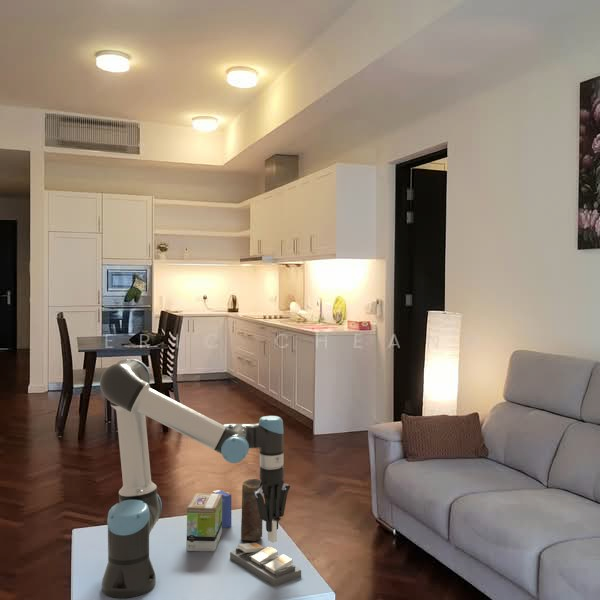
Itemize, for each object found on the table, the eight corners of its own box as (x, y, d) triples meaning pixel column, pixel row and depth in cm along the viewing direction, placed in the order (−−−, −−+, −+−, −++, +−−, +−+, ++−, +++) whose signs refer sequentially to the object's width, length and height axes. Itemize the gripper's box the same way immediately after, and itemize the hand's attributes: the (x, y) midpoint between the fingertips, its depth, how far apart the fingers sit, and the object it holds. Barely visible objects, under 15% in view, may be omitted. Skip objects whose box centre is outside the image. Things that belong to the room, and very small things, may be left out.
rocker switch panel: (274, 586, 185) (274, 575, 185) (230, 558, 203) (230, 548, 203) (301, 576, 191) (301, 565, 191) (255, 549, 210) (255, 540, 210)
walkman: (231, 526, 230) (231, 493, 230) (225, 528, 228) (225, 495, 228) (218, 520, 236) (218, 488, 235) (212, 522, 234) (212, 490, 233)
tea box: (216, 552, 208) (215, 507, 208) (185, 551, 208) (185, 507, 208) (222, 533, 223) (222, 492, 223) (194, 533, 223) (194, 492, 223)
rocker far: (245, 552, 199) (246, 548, 199) (237, 547, 202) (238, 543, 203) (263, 551, 203) (264, 547, 203) (255, 546, 207) (255, 542, 207)
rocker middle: (260, 565, 193) (259, 561, 193) (251, 560, 197) (250, 556, 197) (278, 554, 197) (277, 550, 197) (269, 549, 201) (268, 546, 201)
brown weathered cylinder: (265, 536, 221) (265, 479, 220) (258, 544, 214) (258, 486, 213) (245, 533, 223) (245, 477, 222) (237, 542, 216) (237, 484, 215)
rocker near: (274, 574, 187) (274, 570, 187) (265, 568, 191) (264, 564, 191) (292, 562, 192) (292, 559, 191) (283, 557, 195) (283, 553, 195)
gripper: (261, 473, 191) (262, 550, 192) (295, 465, 199) (295, 539, 200) (247, 467, 197) (248, 542, 198) (281, 459, 205) (281, 531, 206)
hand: (272, 540), depth 199 cm, fingers closed
